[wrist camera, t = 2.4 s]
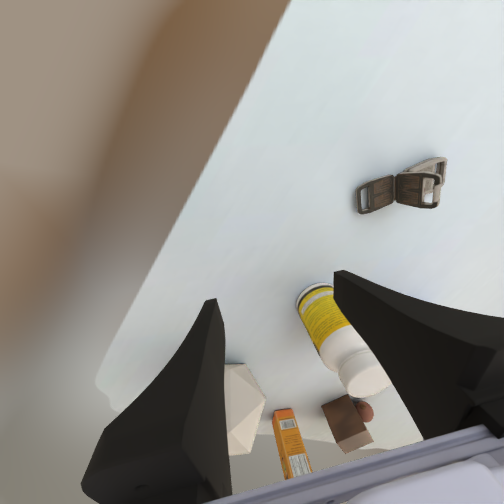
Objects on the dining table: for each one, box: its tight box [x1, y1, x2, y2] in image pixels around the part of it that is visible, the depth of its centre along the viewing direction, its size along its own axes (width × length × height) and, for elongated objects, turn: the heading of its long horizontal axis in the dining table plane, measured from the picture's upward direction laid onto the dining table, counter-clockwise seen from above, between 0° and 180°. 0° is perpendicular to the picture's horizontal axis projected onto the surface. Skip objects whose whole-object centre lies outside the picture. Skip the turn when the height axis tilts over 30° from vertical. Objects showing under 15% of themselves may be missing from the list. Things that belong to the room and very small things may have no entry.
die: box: [224, 364, 266, 456], centre depth 24 cm, size 8×9×10 cm
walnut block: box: [322, 394, 374, 454], centre depth 33 cm, size 5×5×5 cm
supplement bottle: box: [296, 283, 392, 398], centre depth 20 cm, size 5×5×10 cm
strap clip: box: [356, 157, 447, 214], centre depth 17 cm, size 8×3×4 cm, turn 109°
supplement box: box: [272, 409, 312, 480], centre depth 29 cm, size 3×4×10 cm
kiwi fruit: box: [355, 401, 374, 422], centre depth 35 cm, size 6×5×3 cm
